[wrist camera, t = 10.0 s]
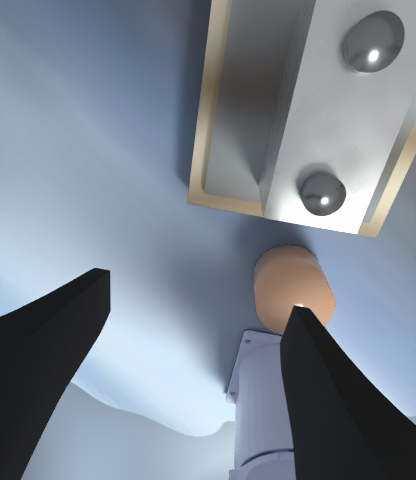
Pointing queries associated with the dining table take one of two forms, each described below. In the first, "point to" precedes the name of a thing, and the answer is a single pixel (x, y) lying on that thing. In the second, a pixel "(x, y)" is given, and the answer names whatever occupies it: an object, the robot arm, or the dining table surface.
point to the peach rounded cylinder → (290, 286)
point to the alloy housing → (338, 110)
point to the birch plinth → (261, 111)
